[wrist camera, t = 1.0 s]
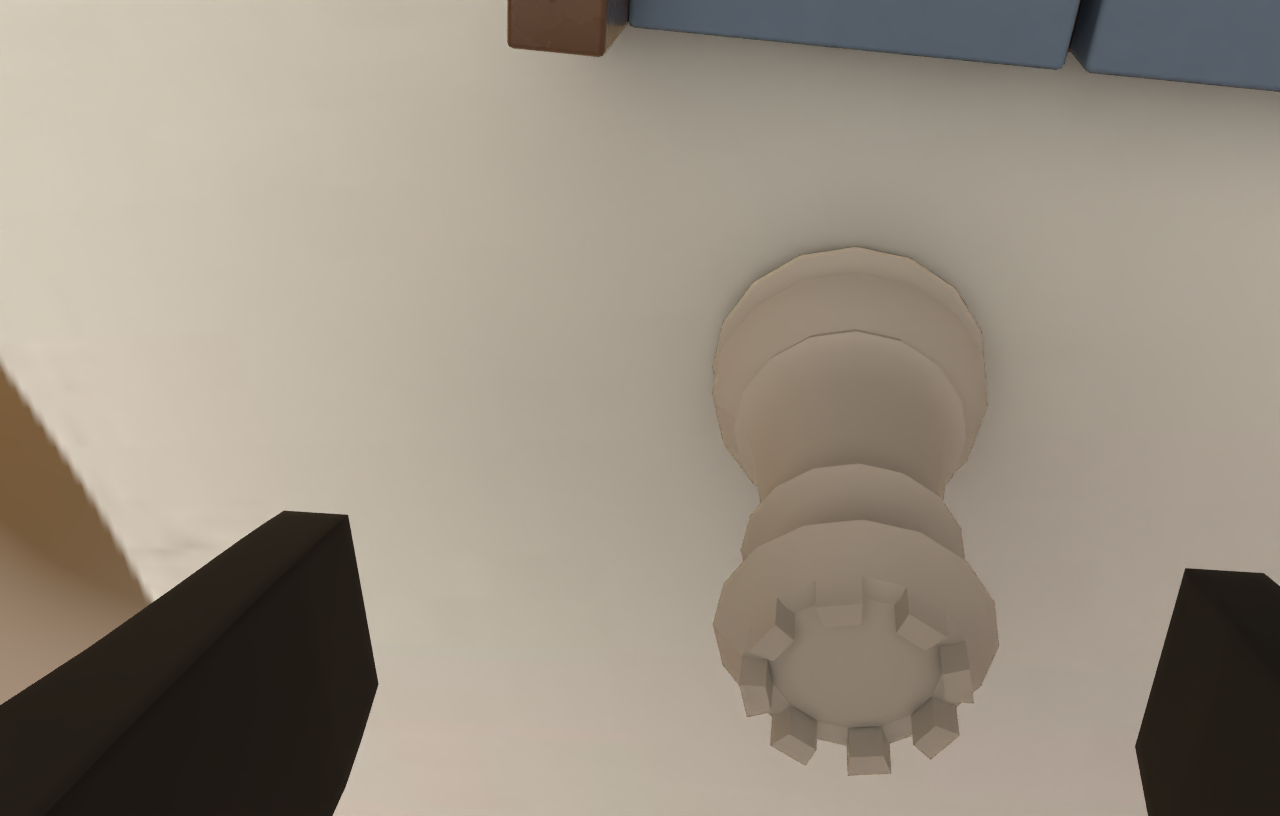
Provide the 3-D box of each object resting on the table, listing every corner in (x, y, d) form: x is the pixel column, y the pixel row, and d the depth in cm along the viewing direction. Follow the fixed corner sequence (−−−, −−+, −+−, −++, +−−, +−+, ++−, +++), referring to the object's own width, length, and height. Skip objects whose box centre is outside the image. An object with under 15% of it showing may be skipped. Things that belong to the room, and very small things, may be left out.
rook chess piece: (714, 463, 21) (656, 815, 14) (715, 231, 18) (647, 512, 12) (967, 477, 20) (1038, 852, 13) (999, 239, 18) (1103, 541, 11)
